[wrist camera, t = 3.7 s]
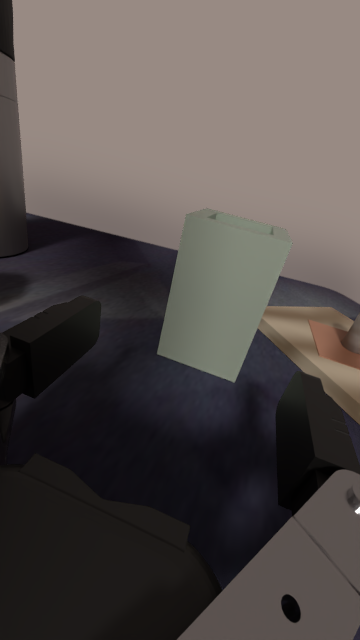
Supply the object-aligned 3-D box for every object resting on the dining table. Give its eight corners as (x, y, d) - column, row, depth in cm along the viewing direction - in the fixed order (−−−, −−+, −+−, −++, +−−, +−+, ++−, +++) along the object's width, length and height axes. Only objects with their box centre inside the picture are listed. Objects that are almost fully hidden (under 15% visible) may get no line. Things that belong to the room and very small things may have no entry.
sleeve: (156, 354, 20) (186, 214, 15) (180, 320, 25) (207, 208, 20) (234, 382, 19) (292, 243, 14) (241, 341, 24) (286, 229, 19)
